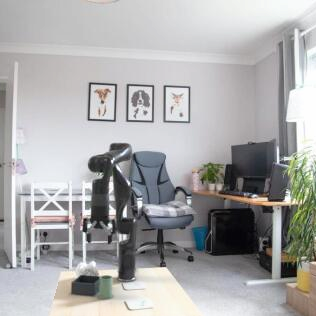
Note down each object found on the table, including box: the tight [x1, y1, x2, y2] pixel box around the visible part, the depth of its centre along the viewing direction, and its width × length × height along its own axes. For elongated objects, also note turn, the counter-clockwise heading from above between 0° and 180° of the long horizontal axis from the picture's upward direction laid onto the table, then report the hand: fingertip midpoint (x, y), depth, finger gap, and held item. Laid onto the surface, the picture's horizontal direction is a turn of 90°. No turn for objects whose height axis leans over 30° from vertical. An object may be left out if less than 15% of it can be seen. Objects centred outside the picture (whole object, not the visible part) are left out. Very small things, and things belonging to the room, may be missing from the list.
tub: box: [70, 275, 101, 297], centre depth 169 cm, size 12×12×6 cm
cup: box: [98, 274, 113, 300], centre depth 162 cm, size 6×6×9 cm
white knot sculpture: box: [75, 260, 100, 278], centre depth 186 cm, size 11×12×9 cm
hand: (99, 243), depth 144 cm, fingers open, 8 cm apart
